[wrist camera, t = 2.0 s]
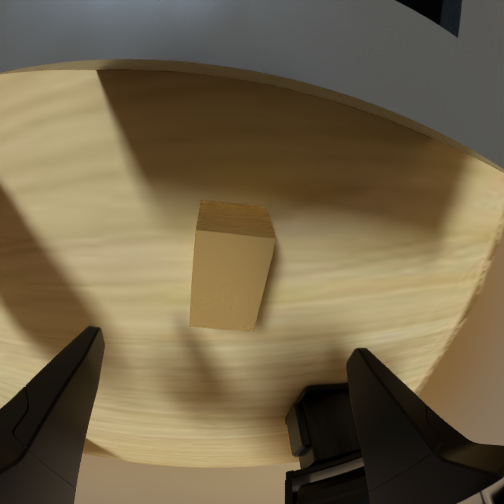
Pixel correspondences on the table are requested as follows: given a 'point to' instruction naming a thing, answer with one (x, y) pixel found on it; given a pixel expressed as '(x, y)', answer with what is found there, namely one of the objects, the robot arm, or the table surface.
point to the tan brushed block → (230, 265)
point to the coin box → (293, 52)
